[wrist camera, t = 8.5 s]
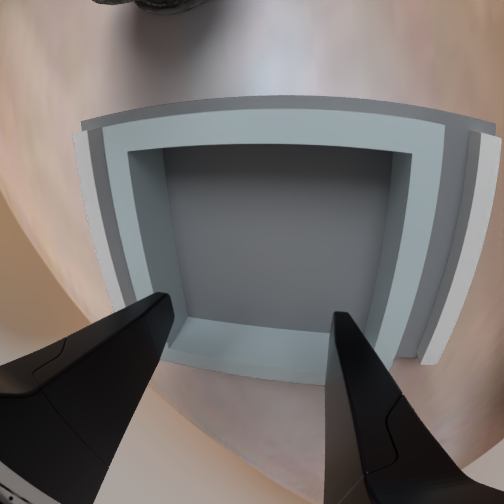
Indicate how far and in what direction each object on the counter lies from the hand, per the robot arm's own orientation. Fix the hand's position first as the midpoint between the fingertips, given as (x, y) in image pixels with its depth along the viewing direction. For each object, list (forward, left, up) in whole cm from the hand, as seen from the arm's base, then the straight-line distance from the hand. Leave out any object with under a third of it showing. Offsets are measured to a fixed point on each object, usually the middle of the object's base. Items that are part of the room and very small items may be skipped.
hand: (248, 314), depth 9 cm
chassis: (0, 0, -6) cm, 6 cm away
